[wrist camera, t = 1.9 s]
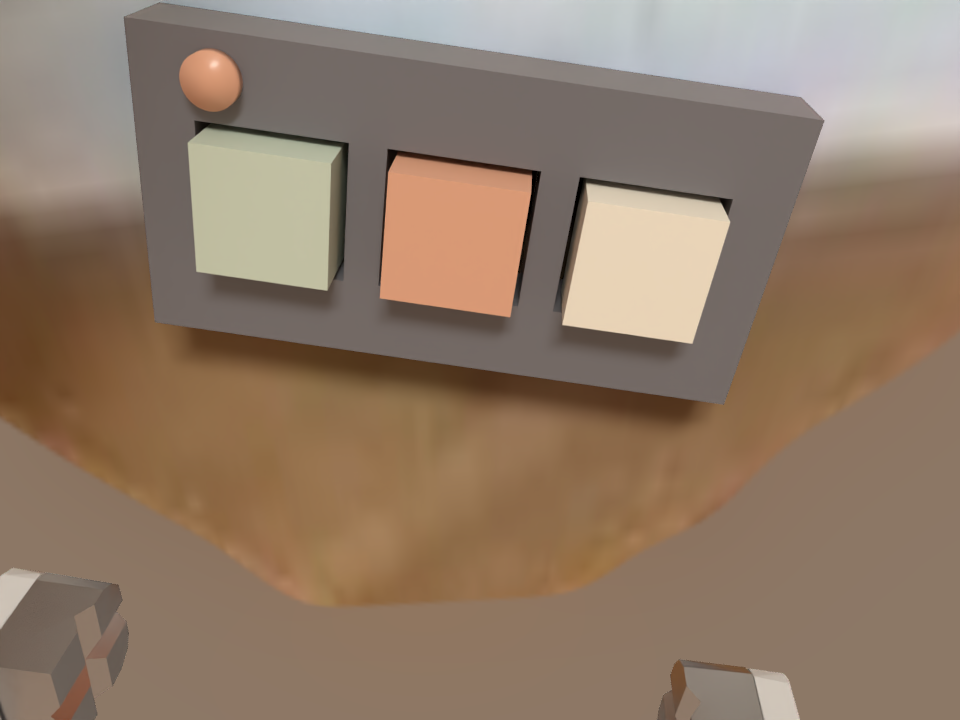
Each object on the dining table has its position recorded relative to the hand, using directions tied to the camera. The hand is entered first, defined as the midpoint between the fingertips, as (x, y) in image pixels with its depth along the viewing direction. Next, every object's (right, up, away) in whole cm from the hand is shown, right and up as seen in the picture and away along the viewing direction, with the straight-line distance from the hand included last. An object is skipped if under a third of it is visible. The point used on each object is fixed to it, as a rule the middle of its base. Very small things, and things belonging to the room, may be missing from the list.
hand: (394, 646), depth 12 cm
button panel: (+1, +11, +22) cm, 24 cm away
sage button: (-6, +11, +20) cm, 24 cm away
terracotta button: (0, +10, +20) cm, 23 cm away
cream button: (+7, +9, +20) cm, 23 cm away
